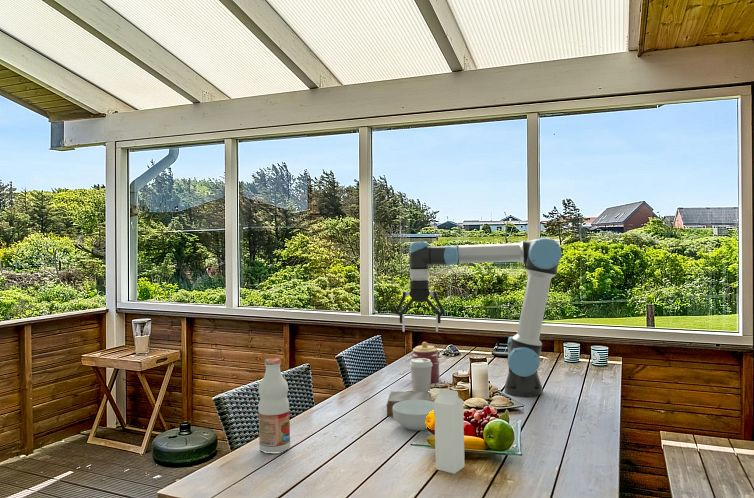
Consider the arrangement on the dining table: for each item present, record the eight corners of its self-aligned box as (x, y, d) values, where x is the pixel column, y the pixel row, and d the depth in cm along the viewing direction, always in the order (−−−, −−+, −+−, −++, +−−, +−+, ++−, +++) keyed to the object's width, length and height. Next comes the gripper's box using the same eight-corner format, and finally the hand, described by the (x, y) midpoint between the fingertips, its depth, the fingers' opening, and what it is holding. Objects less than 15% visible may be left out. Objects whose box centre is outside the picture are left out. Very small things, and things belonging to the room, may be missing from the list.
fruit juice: (259, 445, 176) (256, 357, 175) (289, 442, 178) (286, 355, 178) (260, 456, 167) (257, 363, 166) (291, 452, 169) (288, 361, 168)
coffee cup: (432, 400, 220) (431, 363, 220) (408, 399, 222) (407, 362, 222) (434, 393, 230) (433, 358, 230) (411, 393, 232) (410, 357, 231)
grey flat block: (431, 404, 215) (430, 391, 215) (430, 416, 201) (430, 401, 201) (390, 404, 216) (389, 391, 216) (387, 415, 202) (386, 401, 202)
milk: (446, 462, 158) (444, 385, 158) (465, 467, 155) (463, 388, 155) (435, 469, 154) (433, 390, 154) (454, 474, 150) (452, 393, 150)
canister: (407, 382, 249) (406, 343, 249) (416, 376, 261) (415, 338, 261) (435, 384, 244) (434, 345, 244) (443, 377, 256) (442, 340, 256)
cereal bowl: (408, 438, 178) (408, 416, 178) (384, 424, 193) (383, 404, 193) (451, 429, 186) (451, 408, 186) (425, 416, 201) (424, 396, 201)
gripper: (449, 278, 228) (450, 329, 228) (389, 279, 230) (390, 329, 231) (450, 279, 220) (451, 332, 221) (388, 280, 223) (389, 332, 223)
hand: (420, 331), depth 226 cm, fingers open, 13 cm apart
